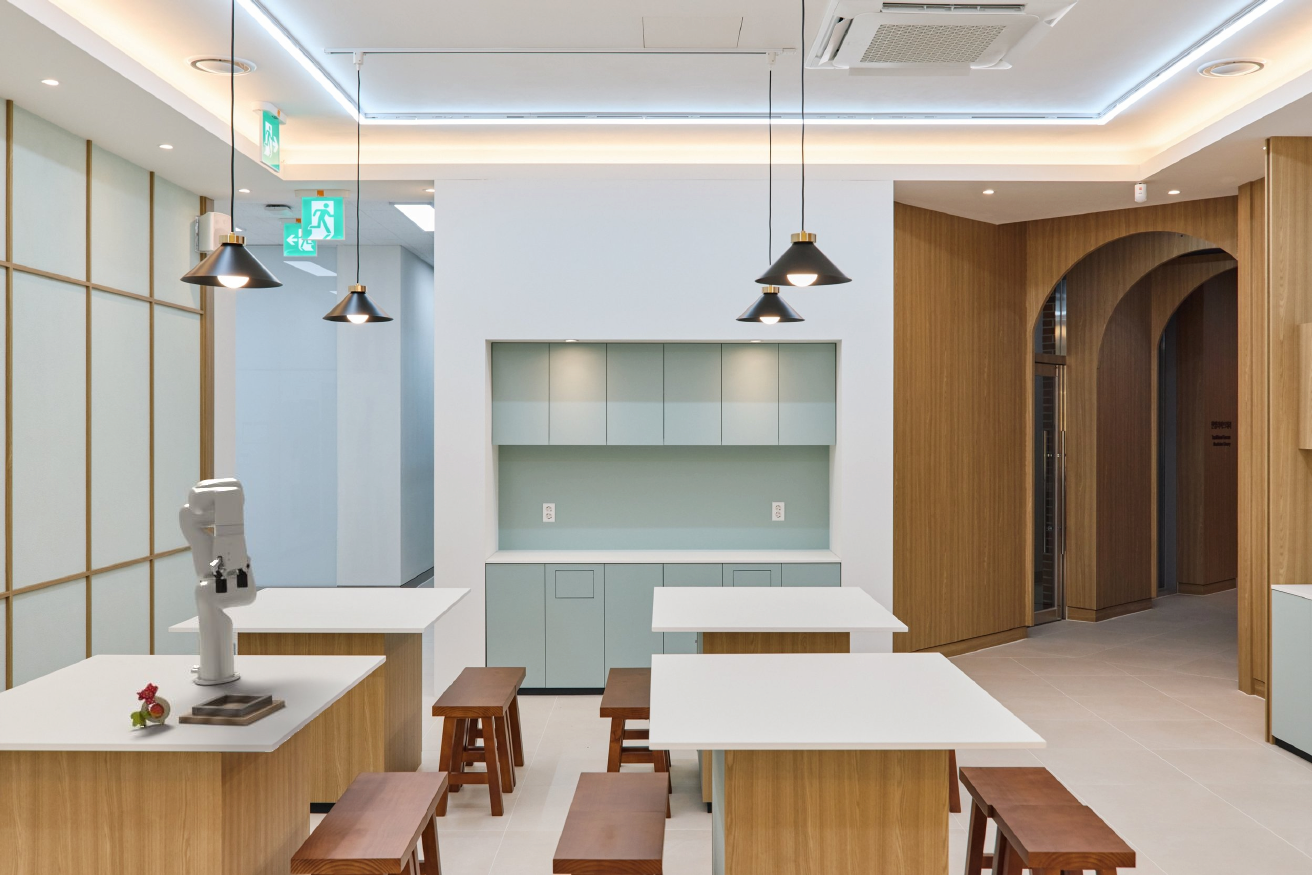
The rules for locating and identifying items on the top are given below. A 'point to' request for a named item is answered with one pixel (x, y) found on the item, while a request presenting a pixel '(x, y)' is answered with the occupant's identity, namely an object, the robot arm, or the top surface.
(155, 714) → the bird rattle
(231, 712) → the wooden tray
